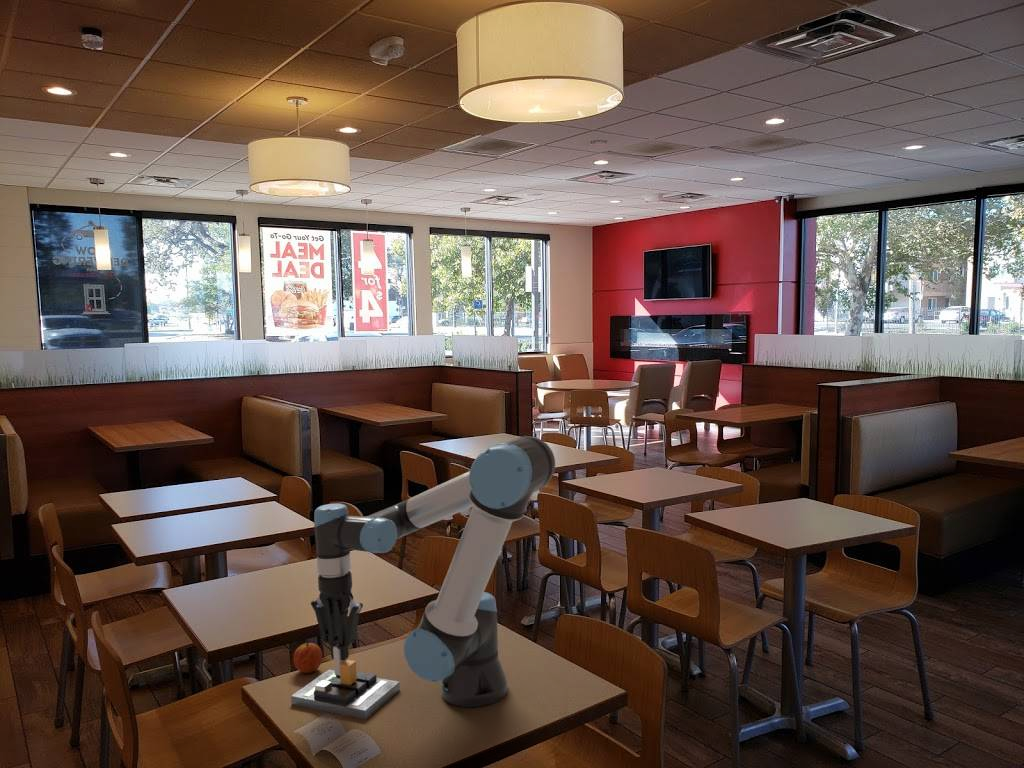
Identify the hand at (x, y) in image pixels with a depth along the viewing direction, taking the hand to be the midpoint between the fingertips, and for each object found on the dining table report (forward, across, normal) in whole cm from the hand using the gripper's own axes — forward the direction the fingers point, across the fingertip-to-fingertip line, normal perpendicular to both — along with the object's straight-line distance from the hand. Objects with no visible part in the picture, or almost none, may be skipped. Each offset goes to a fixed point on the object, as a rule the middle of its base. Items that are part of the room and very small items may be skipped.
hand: (340, 672), depth 173 cm
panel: (+6, -1, 0) cm, 6 cm away
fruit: (+6, +16, -8) cm, 19 cm away
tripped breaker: (+2, -2, 0) cm, 3 cm away
